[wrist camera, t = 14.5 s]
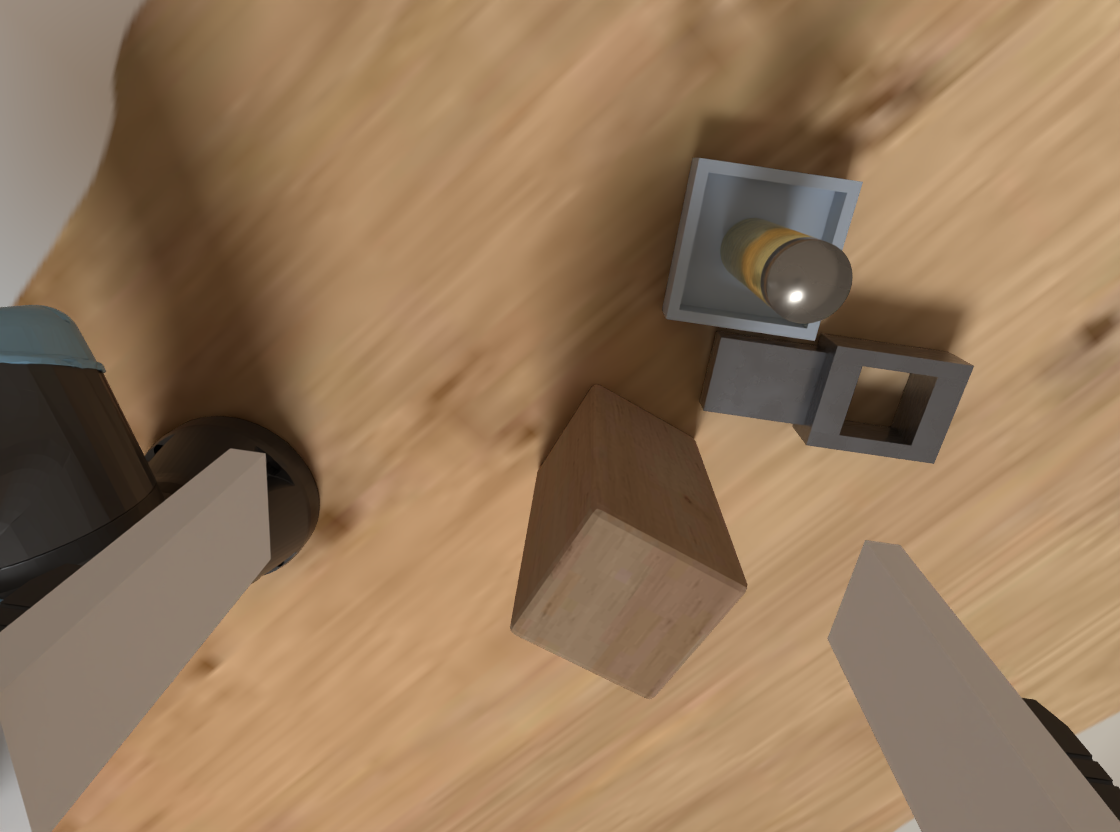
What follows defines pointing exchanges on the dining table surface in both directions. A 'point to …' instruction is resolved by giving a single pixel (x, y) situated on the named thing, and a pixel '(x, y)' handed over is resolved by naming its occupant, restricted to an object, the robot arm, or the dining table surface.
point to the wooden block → (624, 548)
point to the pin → (787, 269)
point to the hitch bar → (836, 390)
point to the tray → (727, 199)
